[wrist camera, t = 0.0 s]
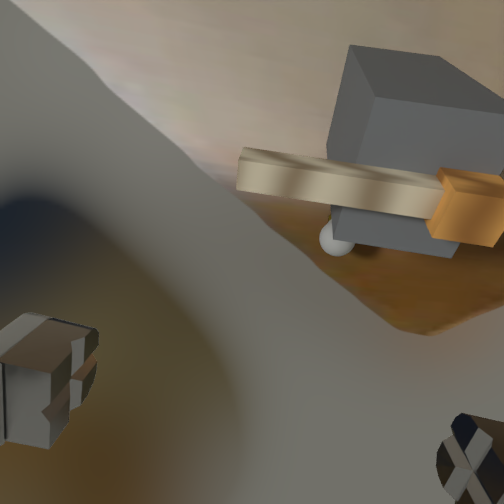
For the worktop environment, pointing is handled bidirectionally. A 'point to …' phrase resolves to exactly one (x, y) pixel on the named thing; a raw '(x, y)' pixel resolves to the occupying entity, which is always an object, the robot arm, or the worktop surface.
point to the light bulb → (333, 241)
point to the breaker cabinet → (410, 135)
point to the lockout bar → (384, 192)
